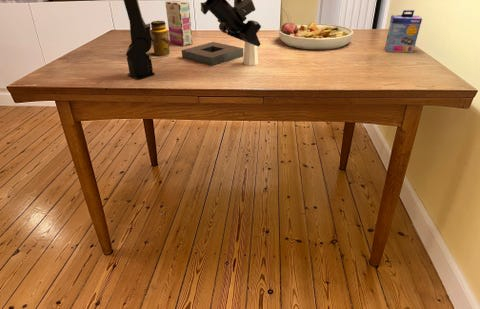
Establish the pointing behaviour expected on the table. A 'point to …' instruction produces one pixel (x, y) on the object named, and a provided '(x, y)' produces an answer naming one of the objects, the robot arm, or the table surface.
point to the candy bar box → (179, 22)
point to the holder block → (212, 53)
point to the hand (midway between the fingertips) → (254, 43)
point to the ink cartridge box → (403, 32)
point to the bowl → (315, 36)
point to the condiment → (160, 40)
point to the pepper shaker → (250, 54)
